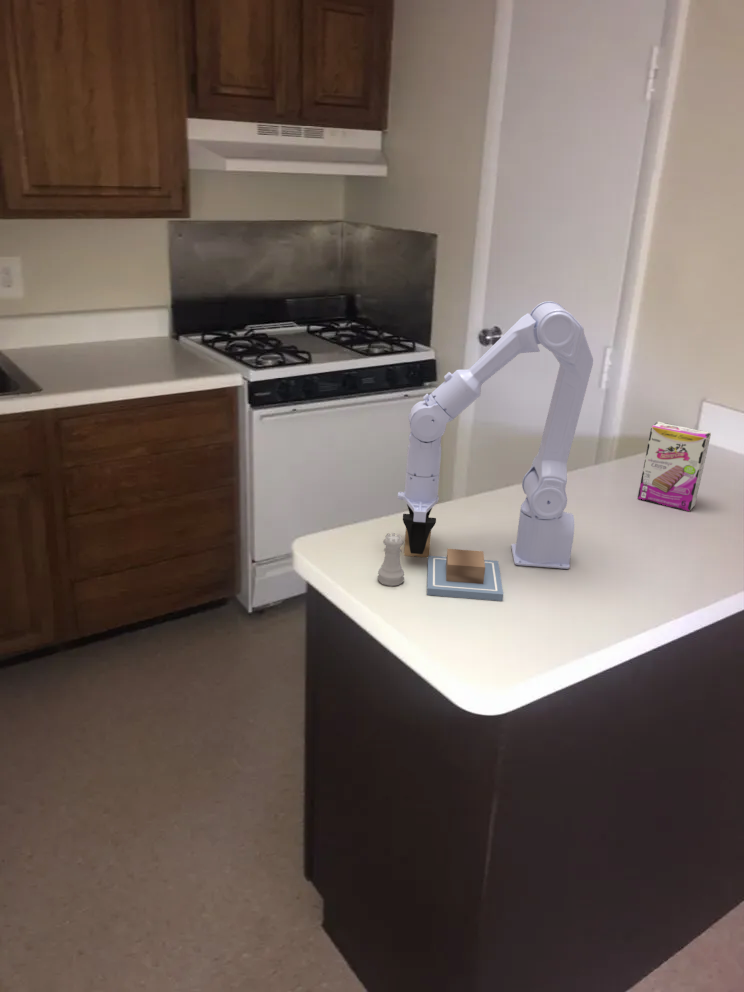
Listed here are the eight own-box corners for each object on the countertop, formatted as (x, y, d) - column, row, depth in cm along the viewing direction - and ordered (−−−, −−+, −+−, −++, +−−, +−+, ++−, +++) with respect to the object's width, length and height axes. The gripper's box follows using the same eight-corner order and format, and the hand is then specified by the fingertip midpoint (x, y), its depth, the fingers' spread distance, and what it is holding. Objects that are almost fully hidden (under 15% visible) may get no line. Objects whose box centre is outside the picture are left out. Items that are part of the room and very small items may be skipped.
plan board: (497, 567, 142) (500, 545, 141) (502, 601, 131) (505, 577, 130) (427, 561, 143) (429, 539, 141) (426, 595, 132) (428, 571, 130)
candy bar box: (636, 500, 175) (649, 425, 169) (642, 493, 179) (656, 420, 173) (690, 513, 170) (706, 437, 164) (696, 505, 174) (711, 431, 168)
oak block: (429, 547, 149) (431, 521, 147) (428, 557, 145) (431, 531, 143) (404, 545, 149) (406, 519, 147) (403, 556, 145) (405, 529, 143)
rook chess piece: (401, 588, 133) (405, 543, 130) (374, 584, 134) (377, 540, 131) (406, 576, 137) (409, 532, 135) (380, 572, 138) (382, 529, 135)
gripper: (401, 456, 148) (396, 525, 153) (397, 484, 135) (392, 559, 140) (440, 458, 148) (434, 528, 153) (440, 488, 134) (434, 563, 139)
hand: (417, 543), depth 146 cm, fingers open, 7 cm apart
